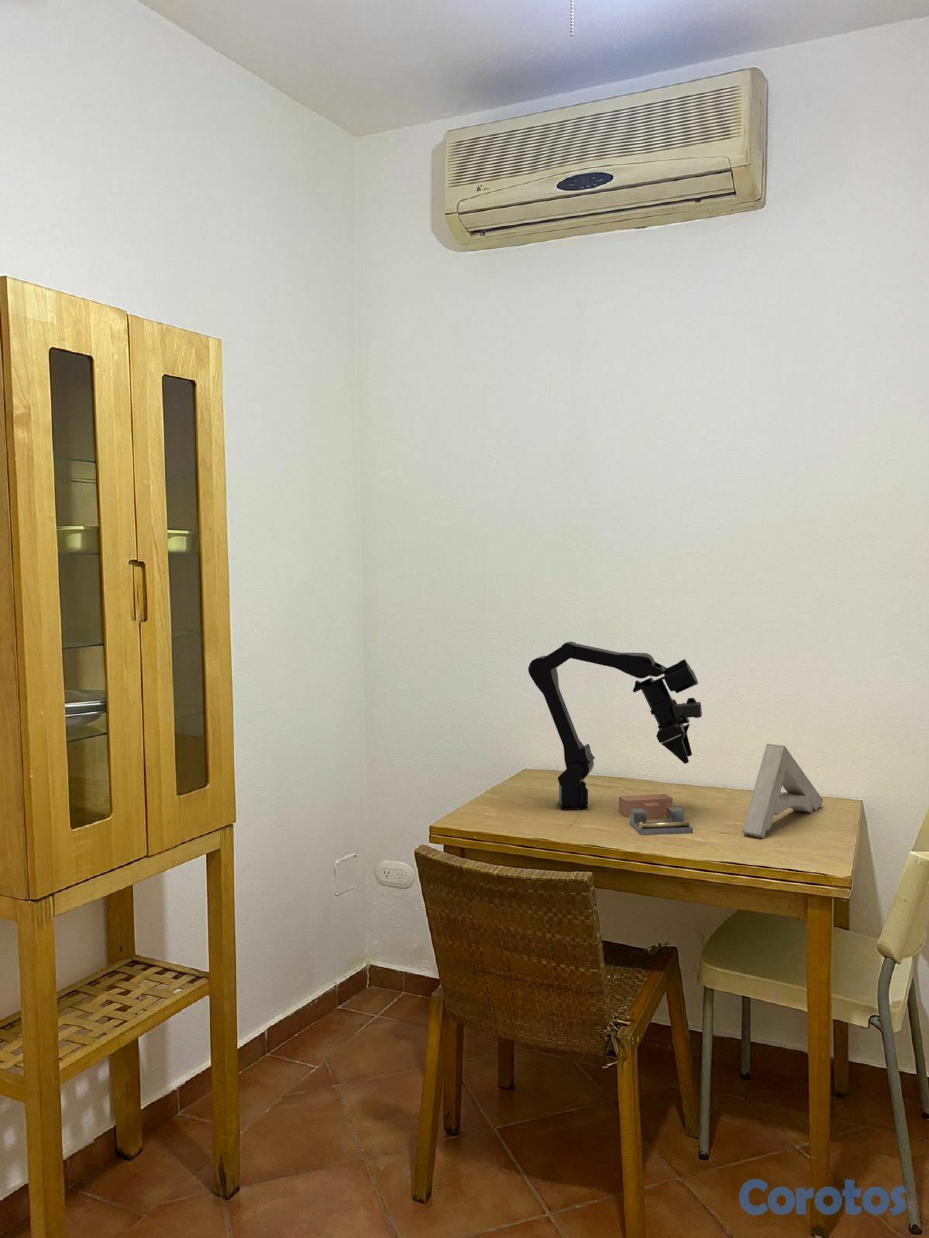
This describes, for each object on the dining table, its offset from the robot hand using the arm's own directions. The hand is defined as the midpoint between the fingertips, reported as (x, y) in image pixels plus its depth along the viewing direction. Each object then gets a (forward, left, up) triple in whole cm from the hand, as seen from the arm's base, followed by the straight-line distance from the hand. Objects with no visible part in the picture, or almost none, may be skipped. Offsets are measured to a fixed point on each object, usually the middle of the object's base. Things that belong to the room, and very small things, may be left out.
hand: (688, 759), depth 241 cm
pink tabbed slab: (-10, +2, -14) cm, 17 cm away
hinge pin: (-10, -14, -14) cm, 22 cm away
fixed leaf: (-10, -11, -14) cm, 20 cm away
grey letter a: (+21, -8, -14) cm, 27 cm away
